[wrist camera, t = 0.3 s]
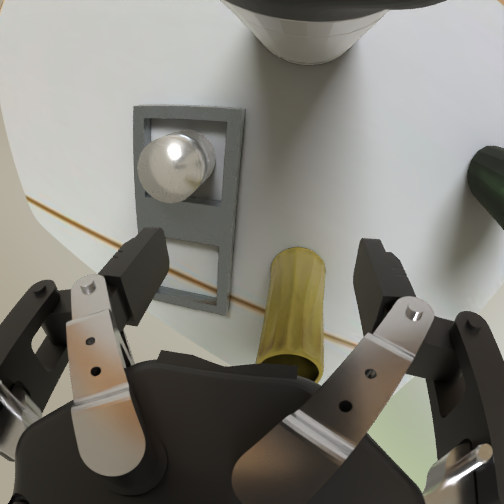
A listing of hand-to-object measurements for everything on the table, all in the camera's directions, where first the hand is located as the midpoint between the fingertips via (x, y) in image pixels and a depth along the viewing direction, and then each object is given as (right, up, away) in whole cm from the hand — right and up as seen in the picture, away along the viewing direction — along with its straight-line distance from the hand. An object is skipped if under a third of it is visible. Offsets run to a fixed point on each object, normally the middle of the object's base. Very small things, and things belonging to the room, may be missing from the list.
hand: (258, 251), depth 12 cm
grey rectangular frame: (-7, +4, +20) cm, 22 cm away
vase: (+5, -2, +22) cm, 22 cm away
